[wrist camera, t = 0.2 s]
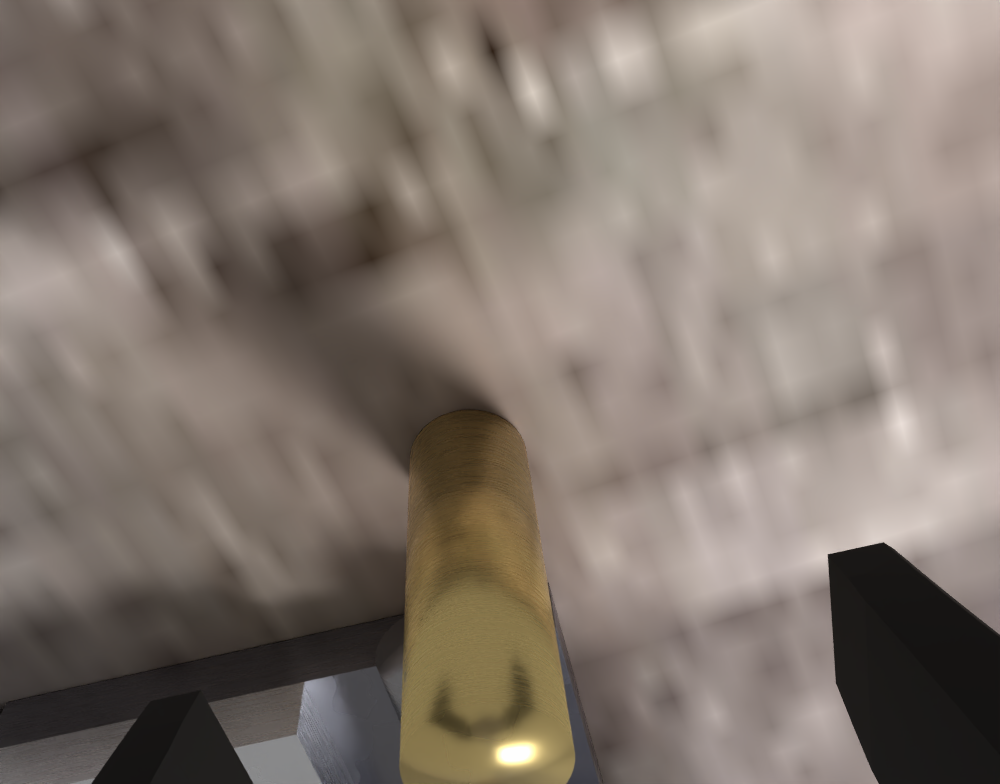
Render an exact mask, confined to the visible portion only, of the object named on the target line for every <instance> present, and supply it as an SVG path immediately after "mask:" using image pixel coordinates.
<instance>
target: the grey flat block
mask: <svg viewBox="0 0 1000 784" xmlns="http://www.w3.org/2000/svg"><path fill="white" fill-rule="evenodd" d="M548 589H549V595H550V601H551V607H552V614H553V620H554V626H555V632H556V638H557V645H558V651H559V657H560V663H561V669H562V676H563V682H564V688H565V694H566V700H567V707H568V713H569V719H570V725H571V731H572V738H573V744H574V750H575V764H574V769H573V772H572V774H571V777H570V778H569V780H568V782H567V783H566V784H603V780H602V777H601V773H600V769H599V766H598V762H597V758H596V755H595V751H594V747H593V744H592V740H591V736H590V733H589V729H588V725H587V722H586V718H585V714H584V711H583V707H582V703H581V700H580V696H579V692H578V689H577V685H576V681H575V678H574V674H573V670H572V667H571V663H570V659H569V656H568V652H567V648H566V645H565V641H564V637H563V634H562V630H561V626H560V623H559V619H558V616H557V612H556V608H555V605H554V601H553V597H552V594H551V590H550V586H549V583H548ZM404 616H405V614H404V615H400V616H395V617H391V618H386V619H382V620H377V621H373V622H368V623H364V624H359V625H355V626H350V627H346V628H341V629H337V630H332V631H328V632H323V633H319V634H314V635H310V636H305V637H301V638H296V639H292V640H287V641H282V642H278V643H273V644H269V645H264V646H260V647H255V648H251V649H246V650H242V651H237V652H233V653H228V654H224V655H219V656H215V657H210V658H206V659H201V660H197V661H192V662H188V663H183V664H179V665H174V666H170V667H165V668H161V669H156V670H152V671H147V672H143V673H138V674H134V675H129V676H125V677H120V678H116V679H111V680H107V681H102V682H97V683H93V684H88V685H84V686H79V687H75V688H70V689H66V690H61V691H57V692H52V693H48V694H43V695H39V696H34V697H30V698H25V699H21V700H16V701H12V702H7V703H6V705H5V707H4V709H3V711H2V713H1V715H0V748H4V747H9V746H13V745H18V744H22V743H27V742H32V741H36V740H41V739H45V738H50V737H54V736H59V735H64V734H68V733H73V732H77V731H82V730H86V729H91V728H96V727H100V726H105V725H109V724H114V723H119V722H123V721H128V720H132V719H137V718H138V717H139V716H140V714H141V713H142V712H143V710H144V709H145V708H146V706H147V705H148V704H149V702H150V701H153V700H158V699H162V698H167V697H172V696H176V695H181V694H186V693H190V692H195V691H199V690H201V691H202V693H203V695H204V696H205V698H206V700H207V702H208V703H210V702H215V701H219V700H224V699H228V698H233V697H237V696H242V695H247V694H251V693H256V692H260V691H265V690H269V689H274V688H279V687H283V686H288V685H292V684H297V683H301V682H305V684H306V686H307V688H308V690H309V692H310V694H311V696H312V698H313V700H314V702H315V704H316V706H317V708H318V711H319V713H320V715H321V717H322V719H323V721H324V723H325V725H326V727H327V729H328V731H329V733H330V735H331V737H332V739H333V741H334V743H335V745H336V747H337V749H338V751H339V753H340V756H341V758H342V760H343V762H344V764H345V766H346V768H347V770H348V772H349V774H350V776H351V778H352V780H353V782H354V784H403V782H402V779H401V776H400V769H399V763H400V733H401V704H402V675H403V645H404Z"/></svg>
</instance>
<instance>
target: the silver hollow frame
mask: <svg viewBox="0 0 1000 784" xmlns="http://www.w3.org/2000/svg"><path fill="white" fill-rule="evenodd" d="M208 704H209V705H210V707H211V709H212V711H213V712H214V714H215V716H216V718H217V719H218V721H219V723H220V725H221V727H222V728H223V730H224V732H225V734H226V735H227V737H228V739H229V741H230V743H231V744H232V746H233V748H234V750H235V751H236V753H237V755H238V757H239V759H240V760H241V762H242V764H243V766H244V767H245V769H246V771H247V773H248V775H249V776H250V778H251V780H252V782H253V783H254V784H354V782H353V780H352V778H351V776H350V774H349V772H348V770H347V768H346V766H345V764H344V762H343V760H342V758H341V756H340V753H339V751H338V749H337V747H336V745H335V743H334V741H333V739H332V737H331V735H330V733H329V731H328V729H327V727H326V725H325V723H324V721H323V719H322V717H321V715H320V713H319V711H318V708H317V706H316V704H315V702H314V700H313V698H312V696H311V694H310V692H309V690H308V688H307V686H306V684H305V682H301V683H297V684H292V685H288V686H283V687H279V688H274V689H269V690H265V691H260V692H256V693H251V694H247V695H242V696H237V697H233V698H228V699H224V700H219V701H215V702H210V703H208ZM0 715H1V712H0ZM136 720H137V719H132V720H128V721H123V722H119V723H114V724H109V725H105V726H100V727H96V728H91V729H86V730H82V731H77V732H73V733H68V734H64V735H59V736H54V737H50V738H45V739H41V740H36V741H32V742H27V743H22V744H18V745H13V746H9V747H4V748H0V784H91V783H92V782H93V780H94V779H95V778H96V776H97V775H98V773H99V772H100V770H101V769H102V768H103V766H104V765H105V763H106V762H107V761H108V759H109V758H110V756H111V755H112V753H113V752H114V751H115V749H116V748H117V746H118V745H119V744H120V742H121V741H122V739H123V738H124V736H125V735H126V734H127V732H128V731H129V729H130V728H131V727H132V725H133V724H134V723H135V721H136Z"/></svg>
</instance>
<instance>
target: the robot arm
mask: <svg viewBox="0 0 1000 784" xmlns="http://www.w3.org/2000/svg"><path fill="white" fill-rule="evenodd" d="M828 564H829V580H830V596H831V612H832V627H833V643H834V659H835V675H836V684H837V687H838V689H839V692H840V694H841V697H842V699H843V702H844V704H845V707H846V709H847V712H848V714H849V717H850V719H851V722H852V724H853V727H854V729H855V731H856V734H857V736H858V739H859V741H860V743H861V746H862V748H863V751H864V753H865V755H866V758H867V760H868V762H869V765H870V767H871V770H872V772H873V773H874V775H875V777H876V779H877V781H878V783H879V784H1000V635H999V634H998V633H997V632H996V631H994V630H993V629H992V628H990V627H989V626H988V625H987V624H985V623H984V622H983V621H981V620H980V619H979V618H978V617H976V616H975V615H974V614H973V613H971V612H970V611H969V610H968V609H966V608H965V607H964V606H963V605H961V604H960V603H959V602H957V601H956V600H955V599H954V598H953V597H951V596H950V595H949V594H948V593H946V592H945V591H944V590H943V589H941V588H940V587H939V586H938V585H937V584H935V583H934V582H933V581H932V580H930V579H929V578H928V577H927V576H926V575H924V574H923V573H922V572H921V571H920V570H918V569H917V568H916V567H915V566H914V565H912V564H911V563H910V562H909V561H908V560H906V559H905V558H904V557H903V556H902V555H900V554H899V553H898V552H897V551H896V550H894V549H893V548H891V547H890V546H888V545H887V544H885V543H879V544H874V545H869V546H865V547H860V548H856V549H851V550H846V551H842V552H837V553H832V554H828ZM91 784H254V783H253V782H252V780H251V778H250V776H249V775H248V773H247V771H246V769H245V767H244V766H243V764H242V762H241V760H240V759H239V757H238V755H237V753H236V751H235V750H234V748H233V746H232V744H231V743H230V741H229V739H228V737H227V735H226V734H225V732H224V730H223V728H222V727H221V725H220V723H219V721H218V719H217V718H216V716H215V714H214V712H213V711H212V709H211V707H210V705H209V704H208V702H207V700H206V698H205V696H204V695H203V693H202V691H201V690H199V691H195V692H190V693H186V694H181V695H176V696H172V697H167V698H162V699H158V700H153V701H150V702H149V704H148V705H147V706H146V708H145V709H144V710H143V712H142V713H141V714H140V716H139V717H138V718H137V720H136V721H135V723H134V724H133V725H132V727H131V728H130V729H129V731H128V732H127V734H126V735H125V736H124V738H123V739H122V741H121V742H120V744H119V745H118V746H117V748H116V749H115V751H114V752H113V753H112V755H111V756H110V758H109V759H108V761H107V762H106V763H105V765H104V766H103V768H102V769H101V770H100V772H99V773H98V775H97V776H96V778H95V779H94V780H93V782H92V783H91Z"/></svg>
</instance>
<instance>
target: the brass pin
mask: <svg viewBox="0 0 1000 784" xmlns="http://www.w3.org/2000/svg"><path fill="white" fill-rule="evenodd" d="M574 764H575V750H574V744H573V738H572V731H571V725H570V719H569V713H568V707H567V700H566V694H565V688H564V682H563V676H562V669H561V663H560V657H559V651H558V645H557V638H556V632H555V626H554V620H553V614H552V607H551V601H550V595H549V589H548V583H547V576H546V570H545V564H544V558H543V552H542V545H541V539H540V533H539V527H538V520H537V514H536V508H535V502H534V496H533V489H532V483H531V477H530V471H529V465H528V458H527V452H526V447H525V444H524V441H523V439H522V437H521V435H520V434H519V432H518V431H517V430H516V429H515V428H514V427H513V426H512V425H511V424H510V423H509V422H507V421H506V420H505V419H503V418H501V417H499V416H497V415H495V414H492V413H489V412H485V411H479V410H460V411H455V412H451V413H448V414H445V415H443V416H440V417H438V418H436V419H435V420H433V421H432V422H430V423H429V424H428V425H426V426H425V427H424V428H423V429H422V430H421V432H420V433H419V434H418V435H417V437H416V439H415V441H414V443H413V445H412V448H411V453H410V470H409V499H408V528H407V558H406V587H405V616H404V645H403V675H402V704H401V733H400V763H399V769H400V776H401V779H402V782H403V784H566V783H567V782H568V780H569V778H570V777H571V774H572V772H573V769H574Z"/></svg>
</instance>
